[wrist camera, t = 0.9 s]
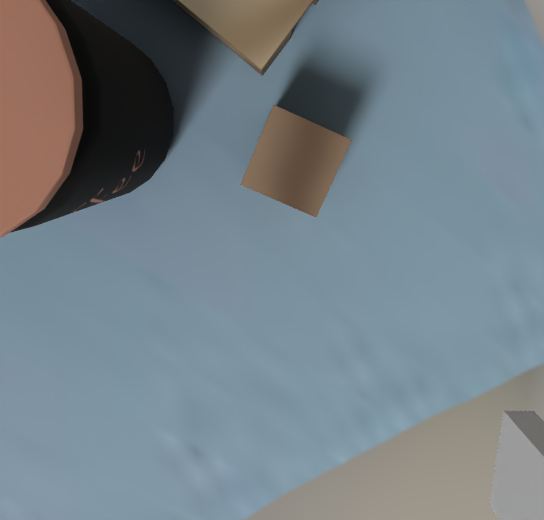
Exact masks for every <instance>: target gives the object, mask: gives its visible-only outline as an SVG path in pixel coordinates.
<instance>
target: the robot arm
mask: <svg viewBox="0 0 544 520" xmlns="http://www.w3.org/2000/svg"><path fill="white" fill-rule="evenodd" d="M489 504H490V506H491V507H492V509H493V511H494V513H495V514H496V516H497V517H498V519H499V520H544V421H543V420H542V419H541V418H540V417H539V416H538V415H537V414H536V413H535V412H534V411H504V413H503V419H502V426H501V432H500V439H499V445H498V451H497V458H496V465H495V471H494V477H493V484H492V490H491V497H490V503H489Z"/></svg>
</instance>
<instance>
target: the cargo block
mask: <svg viewBox="0 0 544 520" xmlns="http://www.w3.org/2000/svg"><path fill="white" fill-rule="evenodd" d="M350 143H351V140H350V139H348V138H346V137H344V136H342V135H339V134H337V133H335V132H333V131H331V130H328V129H326V128H324V127H322V126H320V125H317V124H315V123H313V122H311V121H308V120H306V119H304V118H302V117H300V116H297V115H295V114H293V113H291V112H289V111H286V110H284V109H282V108H280V107H278V106H275V105H273V107H272V110H271V112H270V115H269V117H268V120H267V122H266V124H265V127H264V129H263V132H262V134H261V136H260V139H259V141H258V144H257V146H256V148H255V151H254V153H253V156H252V158H251V160H250V163H249V165H248V168H247V170H246V172H245V175H244V177H243V180H242V182H241V184H240V185H243V186H245V187H247V188H250V189H252V190H254V191H257V192H259V193H261V194H263V195H266V196H268V197H270V198H273V199H275V200H277V201H280V202H282V203H284V204H286V205H289V206H291V207H293V208H296V209H298V210H300V211H303V212H305V213H307V214H309V215H312V216H314V217H317V215H318V213H319V210H320V208H321V206H322V204H323V202H324V199H325V197H326V195H327V193H328V191H329V188H330V186H331V184H332V182H333V180H334V178H335V175H336V173H337V171H338V169H339V167H340V164H341V162H342V160H343V158H344V156H345V153H346V151H347V149H348V147H349V145H350Z"/></svg>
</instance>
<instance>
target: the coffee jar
mask: <svg viewBox="0 0 544 520" xmlns="http://www.w3.org/2000/svg"><path fill="white" fill-rule="evenodd" d="M172 137H173V106H172V102H171V99H170V95H169V92H168V89H167V85H166V82H165V81H164V79H163V78H162V76H161V75H160V73H159V71H158V70H157V68H156V67H155V65H154V64H153V62H152V61H151V59H150V58H148V57H147V56H146V55H145V54H144V53H142V52H141V51H140V50H139V49H138V48H136V47H135V46H134V45H133V44H132V43H130V42H129V41H128V40H126V39H125V38H124V37H122V36H121V35H119V34H118V33H116V32H115V31H113V30H112V29H111V28H109V27H108V26H106V25H105V24H103V23H102V22H101V21H99V20H98V19H96V18H95V17H93V16H92V15H90V14H89V13H88V12H86V11H85V10H83V9H82V8H80V7H79V6H77V5H76V4H75V3H73V2H72V1H70V0H0V238H1V237H2V236H4V235H6V234H8V233H10V232H14V231H18V230H21V229H25V228H29V227H33V226H36V225H39V224H42V223H45V222H47V221H50V220H53V219H56V218H59V217H62V216H64V215H67V214H70V213H73V212H76V211H79V210H81V209H84V208H87V207H90V206H93V205H96V204H98V203H101V202H104V201H107V200H110V199H113V198H115V197H118V196H121V195H124V194H127V193H130V192H131V191H133V190H134V189H136V188H137V187H139V186H140V185H142V184H143V183H145V182H146V181H148V180H149V179H150V178H151V177H152V176H153V174H154V173H155V172H156V170H157V169H158V168H159V166H160V165H161V164H162V162H163V161H164V160H165V158H166V155H167V152H168V149H169V146H170V143H171V140H172Z"/></svg>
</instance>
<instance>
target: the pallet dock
mask: <svg viewBox="0 0 544 520" xmlns="http://www.w3.org/2000/svg"><path fill="white" fill-rule="evenodd" d="M172 1H174V2H175V3H176V4H177V5H178V6H180V7H181V8H182V9H183V10H184V11H186V12H187V13H188V14H189V15H190V16H192V17H193V18H194V19H195V20H196V21H197V22H199V23H200V24H201V25H202V26H203V27H205V28H206V29H207V30H208V31H209V32H211V33H212V34H213V35H214V36H215V37H217V38H218V39H219V40H220V41H221V42H223V43H224V44H225V45H226V46H227V47H229V48H230V49H231V50H232V51H233V52H235V53H236V54H237V55H238V56H239V57H241V58H242V59H243V60H244V61H245V62H247V63H248V64H249V65H250V66H251V67H253V68H254V69H255V70H256V71H257V72H259V73H260V74H261V75H262V76H263V74H264V73H265V72H266V70H267V69H268V68H269V66H270V65H271V64H272V62H273V61H274V60H275V58H276V57H277V56H278V54H279V53H280V52H281V50H282V49H283V48H284V46H285V45H286V44H287V42H288V41H289V40H290V38H291V34H292V29H293V28H294V27H295V25H296V24H297V23H298V21H299V20H300V19H301V17H302V16H303V15H304V13H305V12H306V10H307V9H308V8H309V6H310V5H311V4H312V3H314V4H315V5H316V3H317V2H318V1H319V0H172Z"/></svg>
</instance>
